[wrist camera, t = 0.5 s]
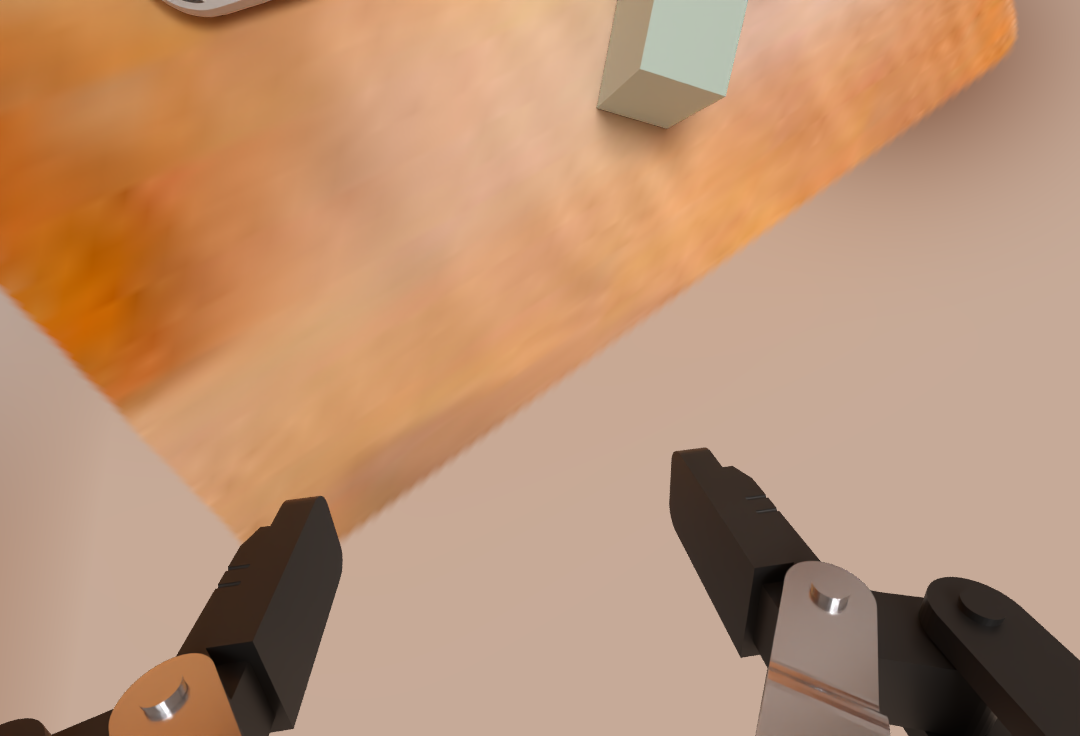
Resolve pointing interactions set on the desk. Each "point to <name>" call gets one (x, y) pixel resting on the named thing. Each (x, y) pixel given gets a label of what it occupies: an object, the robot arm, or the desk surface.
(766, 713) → the robot arm
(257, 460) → the desk surface
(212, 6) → the game console
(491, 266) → the desk surface
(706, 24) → the pale sage rectangular prism
